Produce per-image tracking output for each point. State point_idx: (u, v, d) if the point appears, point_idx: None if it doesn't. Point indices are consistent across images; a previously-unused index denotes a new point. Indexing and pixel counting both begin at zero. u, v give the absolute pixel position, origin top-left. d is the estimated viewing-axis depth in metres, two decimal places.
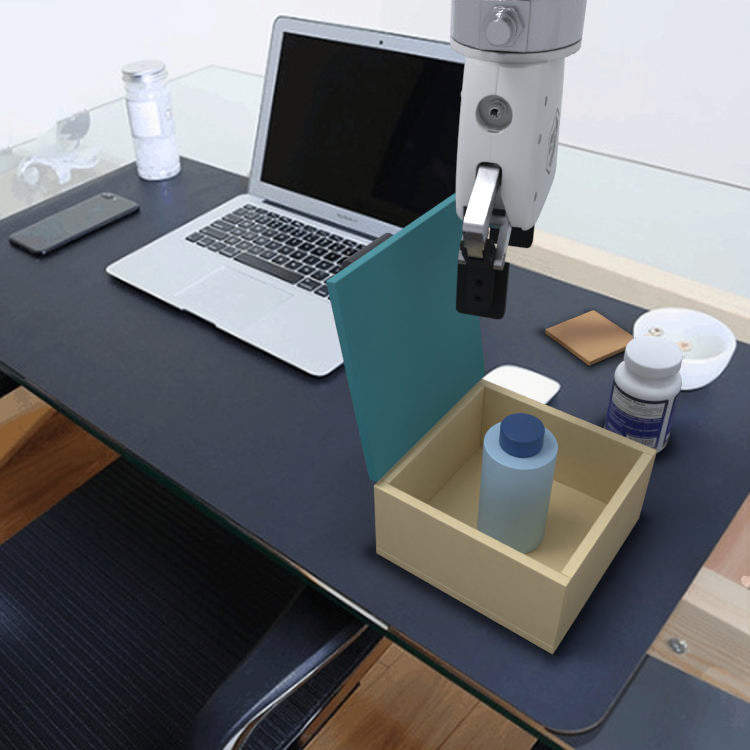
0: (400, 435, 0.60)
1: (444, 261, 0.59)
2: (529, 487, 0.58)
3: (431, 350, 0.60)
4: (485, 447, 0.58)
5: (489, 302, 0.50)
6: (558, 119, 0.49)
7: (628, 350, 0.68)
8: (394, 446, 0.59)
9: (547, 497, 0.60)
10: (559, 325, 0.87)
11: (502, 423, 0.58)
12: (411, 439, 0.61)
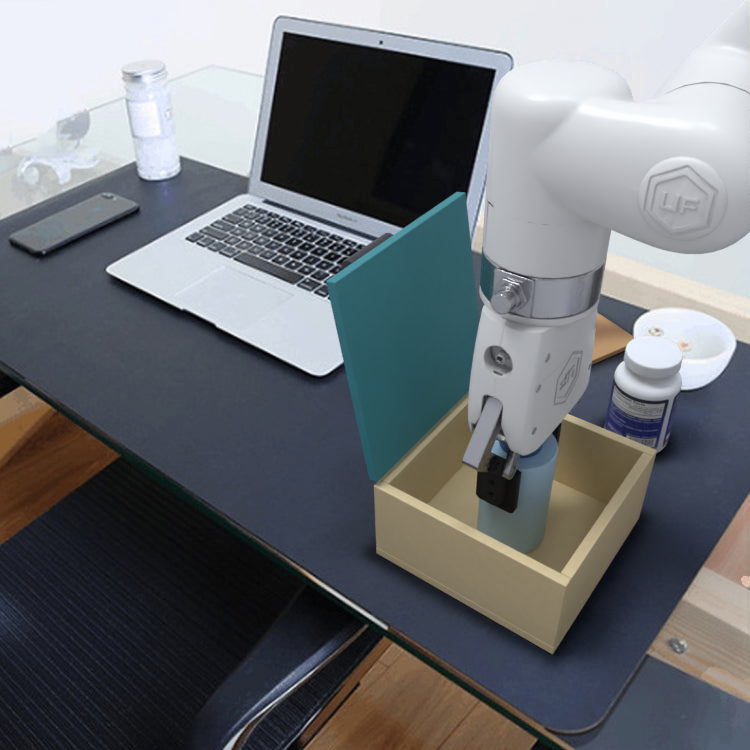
0: (400, 435, 0.60)
1: (444, 261, 0.59)
2: (529, 487, 0.58)
3: (431, 350, 0.60)
4: None
5: (499, 499, 0.57)
6: (580, 355, 0.53)
7: (628, 350, 0.68)
8: (394, 446, 0.59)
9: (547, 497, 0.60)
10: None
11: None
12: (411, 439, 0.61)
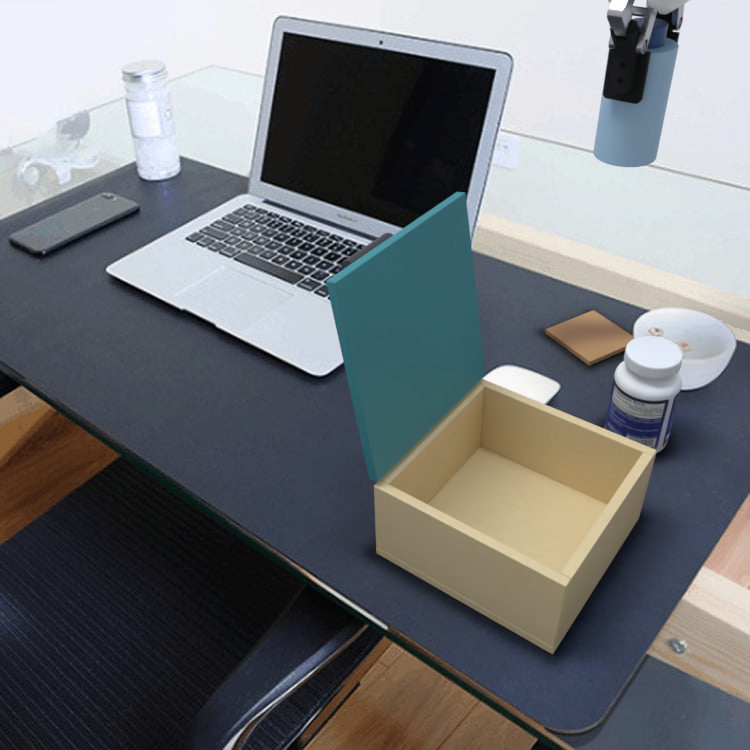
0: (400, 435, 0.60)
1: (444, 261, 0.59)
2: (653, 76, 0.64)
3: (431, 350, 0.60)
4: None
5: (629, 84, 0.63)
6: None
7: (628, 350, 0.68)
8: (394, 446, 0.59)
9: (666, 99, 0.66)
10: (559, 325, 0.87)
11: None
12: (411, 439, 0.61)
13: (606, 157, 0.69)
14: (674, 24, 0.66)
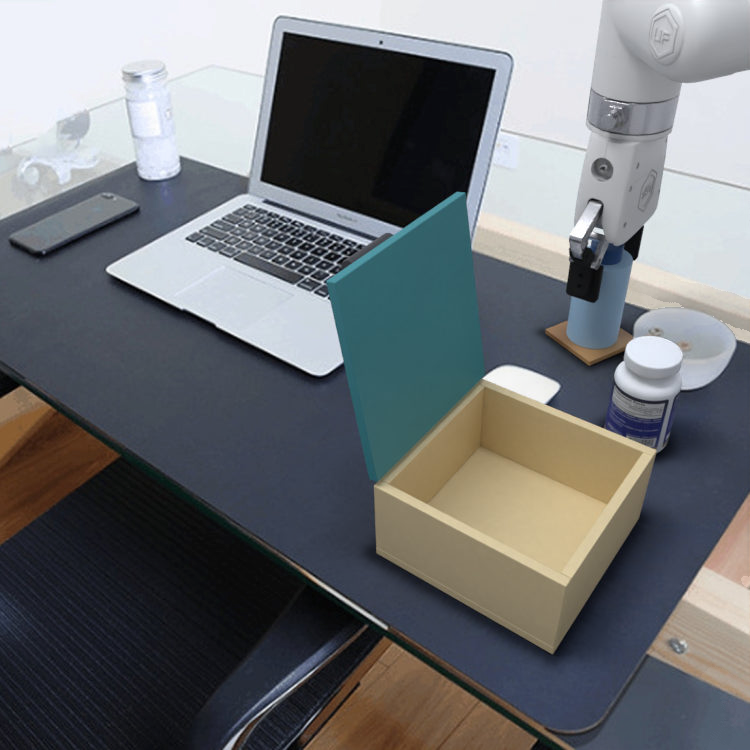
0: (400, 435, 0.60)
1: (444, 261, 0.59)
2: (612, 287, 0.79)
3: (431, 350, 0.60)
4: None
5: (586, 289, 0.76)
6: (655, 176, 0.74)
7: (628, 350, 0.68)
8: (394, 446, 0.59)
9: (623, 300, 0.81)
10: (559, 325, 0.87)
11: (592, 241, 0.79)
12: (411, 439, 0.61)
13: (576, 340, 0.84)
14: None
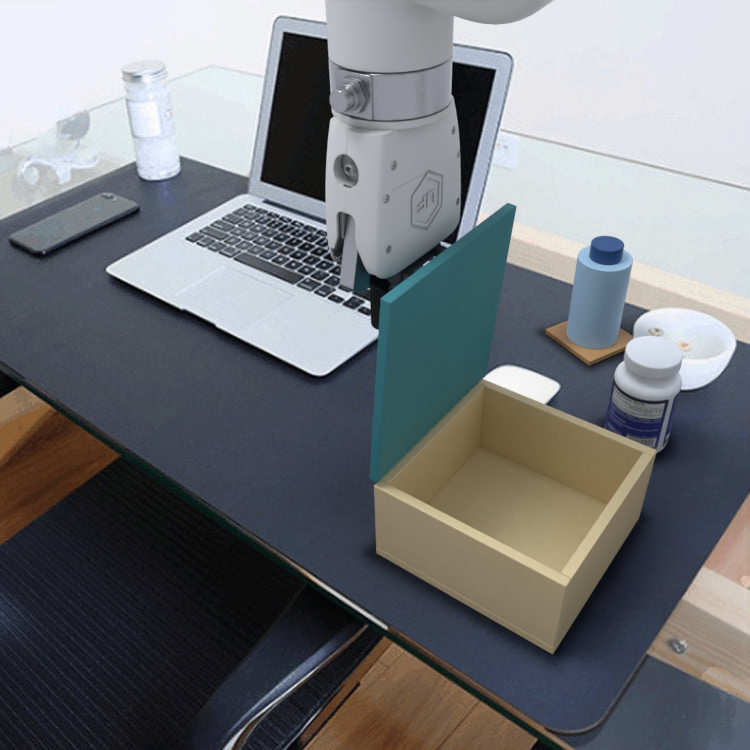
0: (406, 439, 0.59)
1: (482, 273, 0.58)
2: (612, 287, 0.79)
3: (450, 358, 0.60)
4: (579, 259, 0.80)
5: None
6: (440, 180, 0.53)
7: (628, 350, 0.68)
8: (399, 449, 0.59)
9: (623, 300, 0.81)
10: (559, 325, 0.87)
11: (592, 241, 0.79)
12: (413, 441, 0.61)
13: (576, 340, 0.84)
14: None
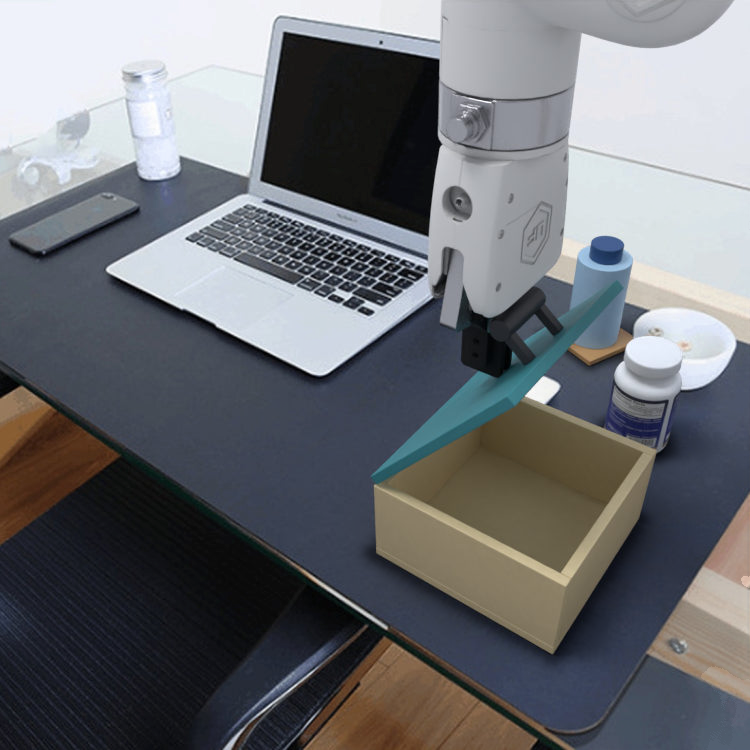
0: None
1: None
2: None
3: None
4: (579, 259, 0.80)
5: (485, 360, 0.54)
6: (550, 211, 0.49)
7: (628, 350, 0.68)
8: None
9: (623, 300, 0.81)
10: None
11: (592, 241, 0.79)
12: None
13: (576, 340, 0.84)
14: None
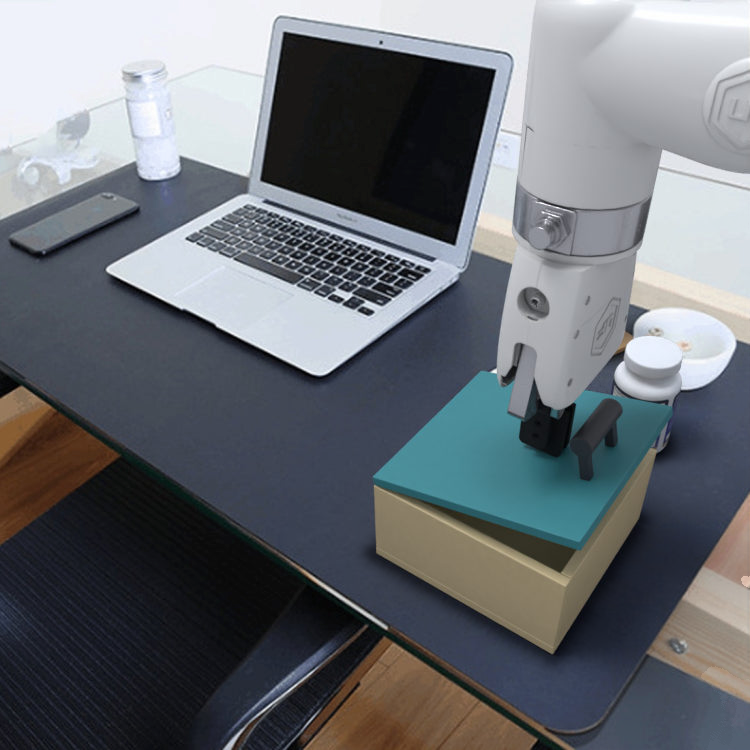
0: None
1: None
2: None
3: None
4: None
5: (545, 441, 0.55)
6: (618, 303, 0.49)
7: (628, 350, 0.68)
8: None
9: None
10: None
11: None
12: None
13: None
14: None
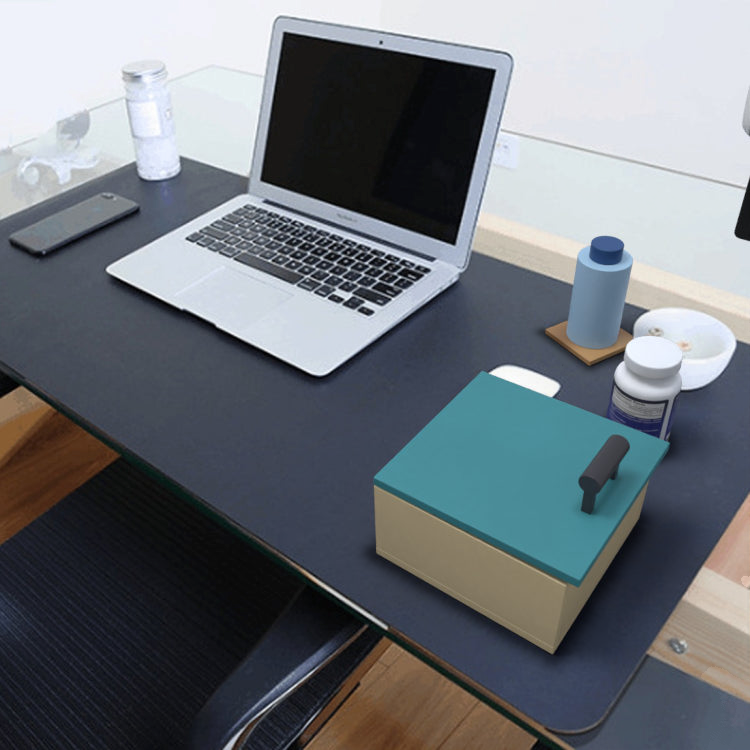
0: None
1: None
2: (612, 287, 0.79)
3: None
4: (579, 259, 0.80)
5: None
6: None
7: (628, 350, 0.68)
8: None
9: (623, 300, 0.81)
10: (559, 325, 0.87)
11: (592, 241, 0.79)
12: None
13: (576, 340, 0.84)
14: None
